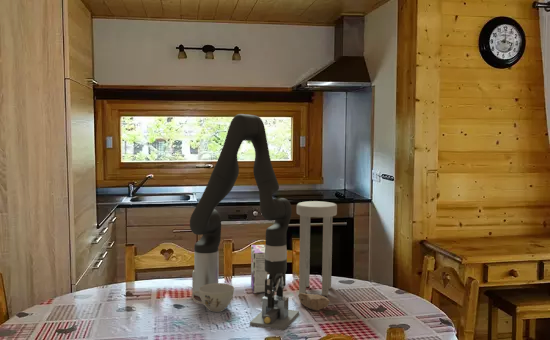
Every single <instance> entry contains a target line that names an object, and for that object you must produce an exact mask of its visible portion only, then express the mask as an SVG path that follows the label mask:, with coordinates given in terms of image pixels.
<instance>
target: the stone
mask: <svg viewBox="0 0 550 340" xmlns="http://www.w3.org/2000/svg"><path fill="white" fill-rule="evenodd" d="M298 300H299V303H301V304H302V305H303V306H304V307H306V308H307V309H308V308H309V310H313V311H320V310H322V309H326V307H328V306H329V305H330V302H331V300H330V299H328V298H327V297H325V295H322V294H321V295H320V294H312V293H305V294H304V293H299V292H298Z"/></svg>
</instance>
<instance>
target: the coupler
mask: <svg viewBox="0 0 550 340" xmlns="http://www.w3.org/2000/svg"><path fill="white" fill-rule="evenodd" d="M299 315H300V310H296V309H295V310H294V309H288V316H287V318H286V319H285V320H280V308H277V307H274V308H273V309H270V310H269V311H268V312H267V313H266V314H265V315H264V317H262V311H260V312H259V313H258V314H257V315H256V316H255V317H254V318H253V319H251V320H250V321H249V325H250V326H253V327H254V326H255V327H259V328H260V327H261V328H267V329H275V330H279V331H280V330H281V331H285V329H287V328H288V327H289V325H290V324H291V323H292V322H293V321H294V320H295V319H296V318H297V317H298V316H299Z"/></svg>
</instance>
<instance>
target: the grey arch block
mask: <svg viewBox="0 0 550 340" xmlns="http://www.w3.org/2000/svg"><path fill="white" fill-rule="evenodd" d="M267 303H268V297H265V295H264V296H263V297H261V312H262V317H264V315H265V314H266V313H267V312H268V311H269V310H270V309H271V308H268V307H267ZM274 307H277V308H280V320H285V319H286V318H287V316H288V310H289V296H284V295H283V296H276V294H275V296H274Z"/></svg>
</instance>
